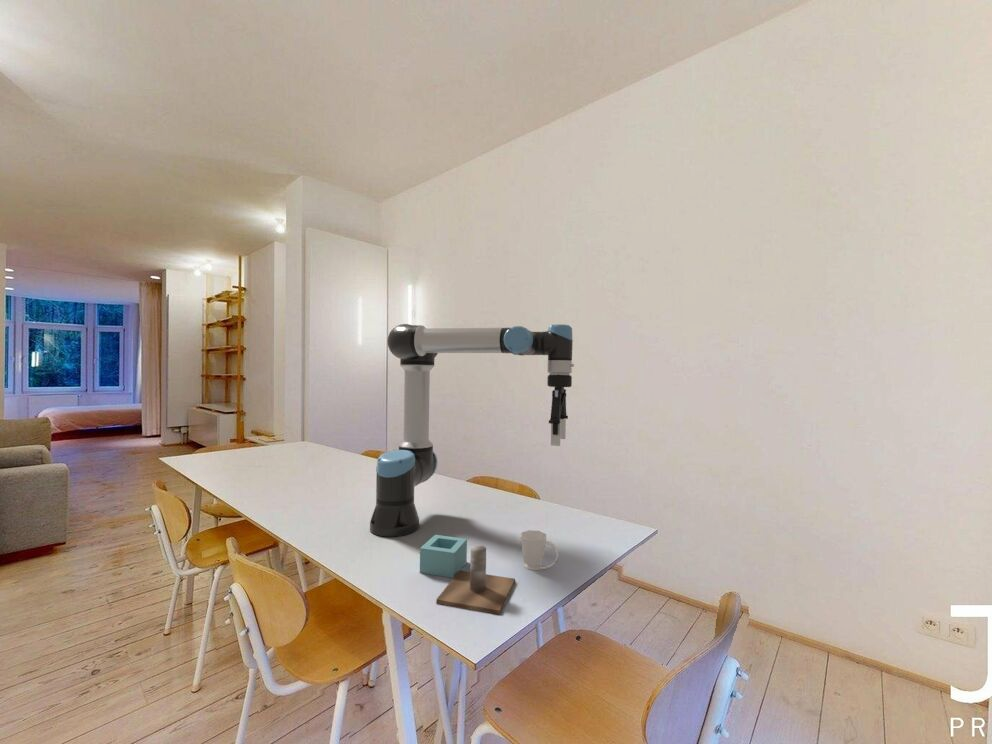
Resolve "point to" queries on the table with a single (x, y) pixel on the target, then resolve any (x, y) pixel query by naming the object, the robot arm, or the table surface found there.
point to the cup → (535, 549)
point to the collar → (443, 556)
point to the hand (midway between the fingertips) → (558, 442)
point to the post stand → (477, 587)
